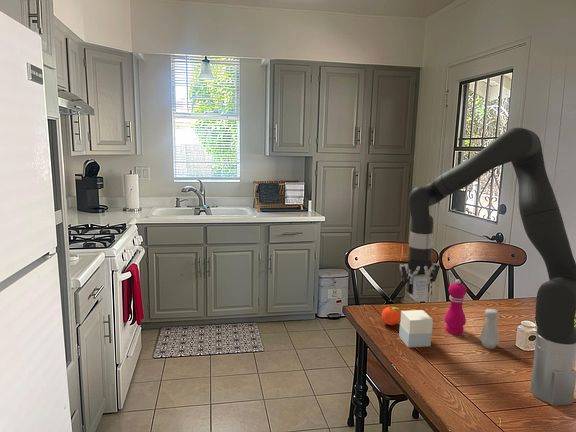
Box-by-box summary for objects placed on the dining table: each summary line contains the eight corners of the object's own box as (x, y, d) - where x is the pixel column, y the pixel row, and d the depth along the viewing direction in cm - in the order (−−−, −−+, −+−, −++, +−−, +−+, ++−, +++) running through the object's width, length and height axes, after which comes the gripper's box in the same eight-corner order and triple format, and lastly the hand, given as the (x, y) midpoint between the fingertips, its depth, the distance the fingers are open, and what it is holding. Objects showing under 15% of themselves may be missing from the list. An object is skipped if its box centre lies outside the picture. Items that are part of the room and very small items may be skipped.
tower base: (430, 346, 138) (431, 333, 138) (408, 347, 138) (408, 334, 137) (420, 335, 146) (421, 323, 145) (399, 337, 145) (399, 324, 145)
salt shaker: (500, 350, 135) (504, 314, 133) (482, 349, 136) (485, 312, 134) (495, 342, 141) (498, 307, 139) (477, 341, 142) (480, 306, 140)
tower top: (431, 333, 138) (432, 319, 137) (409, 334, 137) (410, 320, 136) (421, 323, 145) (422, 310, 145) (400, 324, 145) (401, 310, 144)
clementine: (399, 320, 159) (400, 303, 158) (404, 328, 152) (405, 310, 151) (379, 320, 159) (380, 303, 157) (383, 328, 152) (384, 310, 151)
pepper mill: (440, 331, 150) (444, 279, 146) (448, 325, 155) (452, 275, 151) (460, 337, 145) (464, 284, 141) (467, 330, 150) (472, 279, 147)
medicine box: (427, 301, 135) (429, 277, 134) (414, 301, 135) (415, 277, 134) (420, 293, 143) (421, 269, 142) (407, 293, 143) (408, 269, 142)
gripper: (404, 248, 132) (401, 298, 134) (446, 247, 133) (442, 296, 136) (396, 243, 139) (393, 290, 142) (435, 242, 140) (432, 288, 143)
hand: (417, 293), depth 139 cm, fingers closed on medicine box, 4 cm apart
